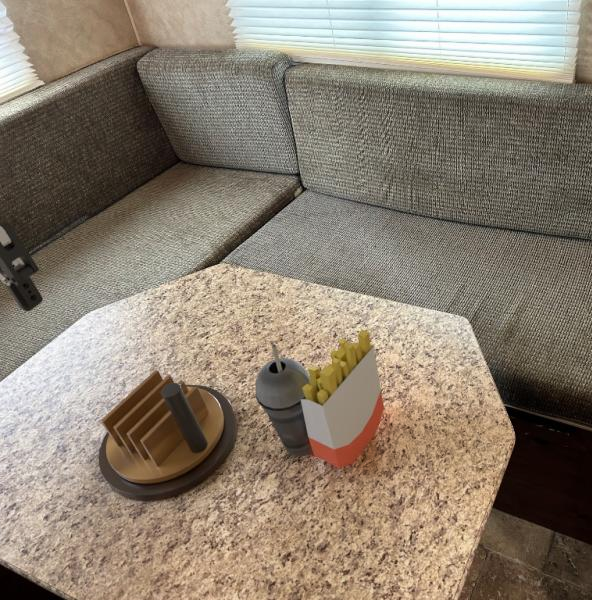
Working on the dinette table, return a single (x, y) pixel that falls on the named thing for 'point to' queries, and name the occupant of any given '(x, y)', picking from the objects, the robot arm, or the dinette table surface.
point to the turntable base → (185, 480)
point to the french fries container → (343, 403)
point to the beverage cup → (285, 401)
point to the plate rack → (162, 430)
